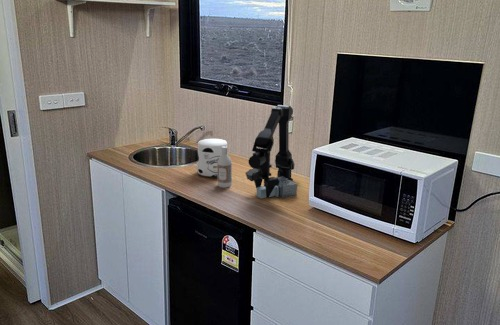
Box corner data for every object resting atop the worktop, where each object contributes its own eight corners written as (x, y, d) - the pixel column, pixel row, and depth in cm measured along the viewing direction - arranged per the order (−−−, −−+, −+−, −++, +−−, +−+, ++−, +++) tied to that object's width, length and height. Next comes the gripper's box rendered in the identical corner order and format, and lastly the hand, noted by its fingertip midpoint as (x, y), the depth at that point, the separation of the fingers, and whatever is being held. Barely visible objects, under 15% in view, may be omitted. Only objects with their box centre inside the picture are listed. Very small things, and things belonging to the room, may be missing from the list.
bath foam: (215, 187, 216) (215, 148, 210) (220, 182, 222) (220, 144, 216) (228, 188, 214) (228, 149, 208) (233, 184, 220) (233, 145, 214)
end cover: (283, 189, 214) (284, 180, 212) (291, 193, 208) (291, 184, 207) (255, 195, 206) (255, 186, 204) (262, 199, 200) (262, 190, 199)
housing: (282, 187, 216) (282, 176, 215) (296, 195, 206) (297, 183, 205) (268, 190, 213) (269, 178, 211) (282, 198, 203) (282, 186, 201)
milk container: (217, 182, 223) (217, 148, 217) (190, 176, 231) (189, 143, 226) (235, 172, 237) (235, 140, 232) (208, 167, 245) (208, 136, 240)
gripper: (238, 159, 203) (238, 190, 208) (259, 170, 188) (258, 204, 192) (259, 156, 208) (258, 187, 213) (280, 167, 193) (279, 199, 198)
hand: (262, 194), depth 204 cm, fingers open, 8 cm apart
